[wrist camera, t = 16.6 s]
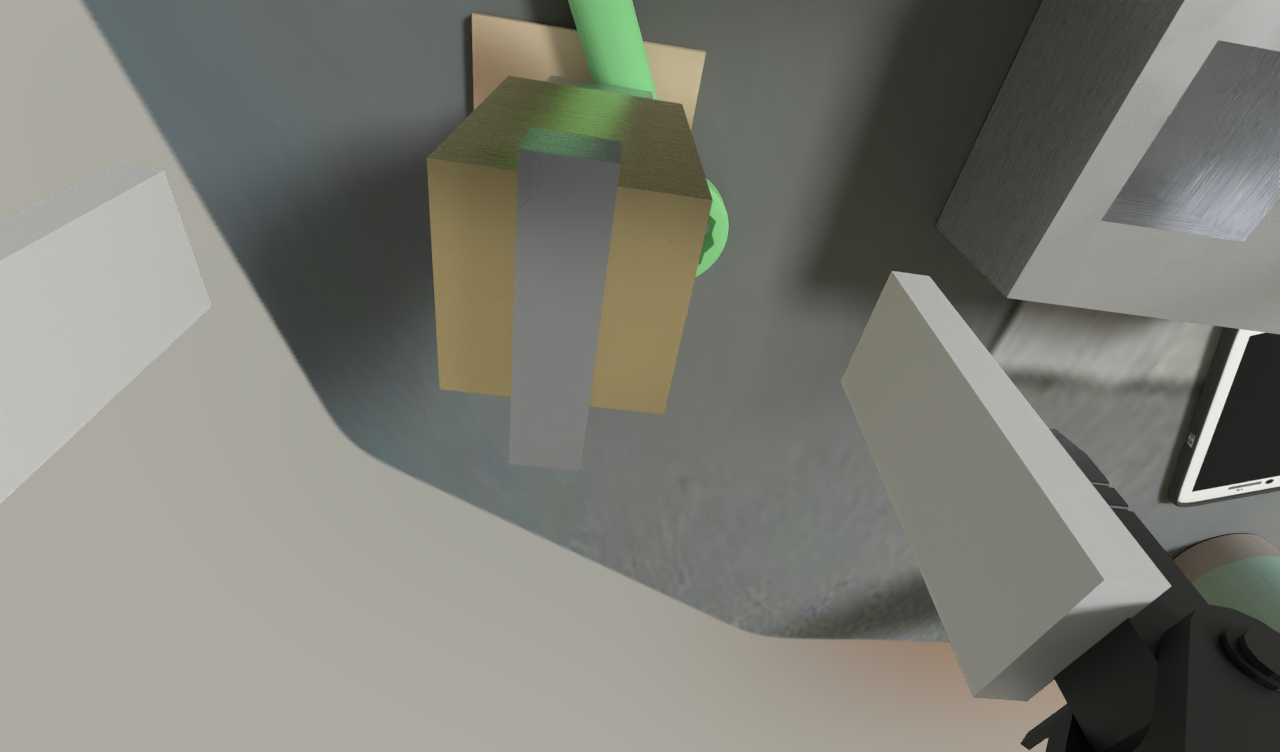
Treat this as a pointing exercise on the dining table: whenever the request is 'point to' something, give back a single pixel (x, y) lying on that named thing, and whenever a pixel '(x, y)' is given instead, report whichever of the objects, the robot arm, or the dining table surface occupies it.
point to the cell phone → (1234, 424)
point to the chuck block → (1133, 163)
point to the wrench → (634, 83)
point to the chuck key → (565, 255)
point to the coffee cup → (1236, 575)
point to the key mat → (569, 59)
